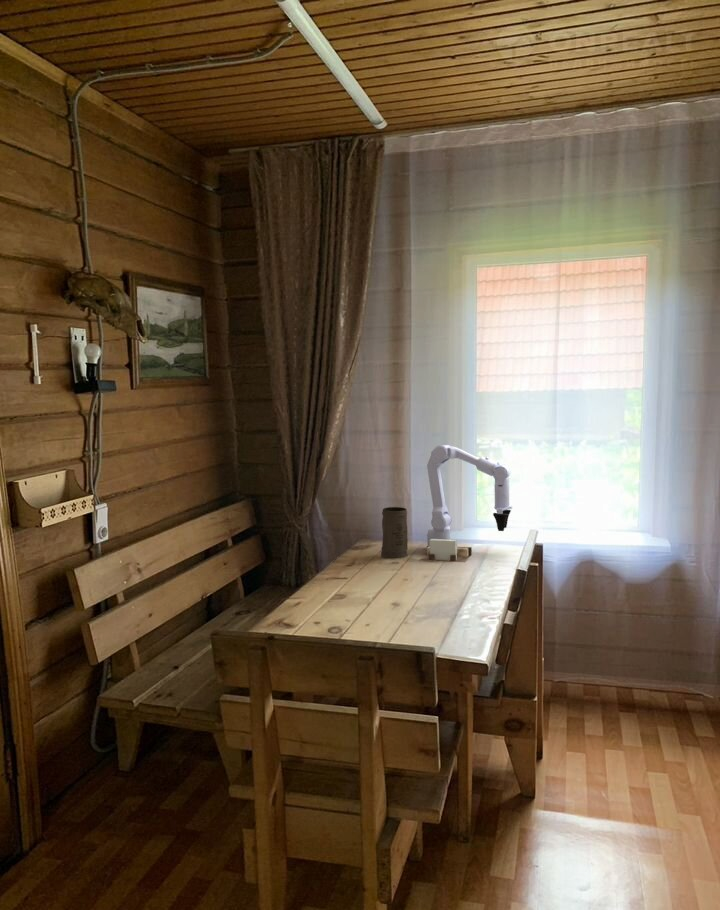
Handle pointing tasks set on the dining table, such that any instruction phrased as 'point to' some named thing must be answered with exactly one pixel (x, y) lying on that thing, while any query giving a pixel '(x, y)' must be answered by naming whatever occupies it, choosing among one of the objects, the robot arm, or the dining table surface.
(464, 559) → the rack
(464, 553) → the offcut right
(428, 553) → the offcut left
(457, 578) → the dining table surface
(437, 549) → the panel
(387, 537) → the beer stein
